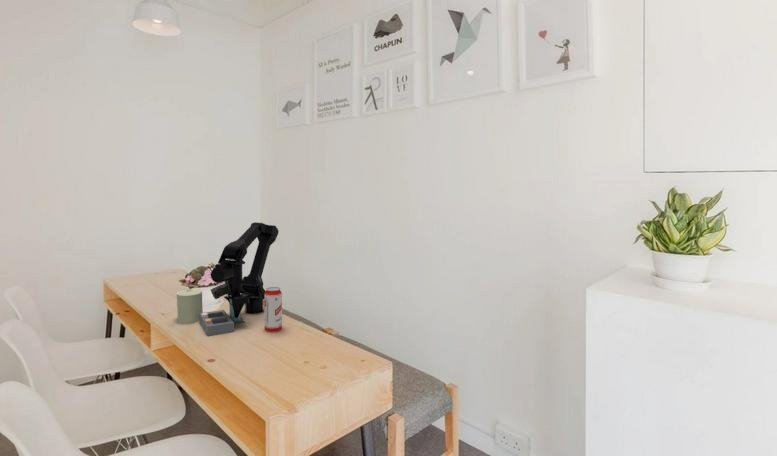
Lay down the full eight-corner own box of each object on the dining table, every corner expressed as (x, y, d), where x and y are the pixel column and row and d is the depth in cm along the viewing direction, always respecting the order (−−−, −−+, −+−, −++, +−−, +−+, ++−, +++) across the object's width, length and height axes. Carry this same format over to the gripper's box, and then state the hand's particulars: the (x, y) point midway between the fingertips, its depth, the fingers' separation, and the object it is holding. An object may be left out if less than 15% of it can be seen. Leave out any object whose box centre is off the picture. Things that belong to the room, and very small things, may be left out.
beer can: (284, 328, 153) (284, 287, 152) (278, 334, 147) (278, 291, 146) (268, 327, 154) (268, 286, 152) (261, 333, 148) (261, 290, 146)
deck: (240, 318, 163) (240, 317, 163) (245, 323, 157) (245, 322, 157) (226, 320, 160) (226, 319, 160) (230, 326, 154) (230, 324, 154)
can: (201, 314, 165) (200, 286, 164) (205, 321, 158) (204, 292, 156) (175, 318, 160) (174, 289, 158) (179, 326, 153) (177, 295, 151)
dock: (223, 319, 161) (223, 307, 161) (234, 333, 147) (234, 319, 147) (199, 323, 156) (199, 310, 156) (207, 337, 142) (207, 323, 142)
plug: (239, 318, 161) (238, 299, 160) (241, 321, 158) (241, 301, 157) (228, 320, 159) (228, 300, 158) (230, 323, 155) (230, 303, 155)
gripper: (207, 274, 160) (208, 312, 161) (217, 284, 144) (218, 327, 146) (236, 271, 166) (237, 308, 167) (249, 281, 150) (249, 321, 152)
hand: (235, 316), depth 158 cm, fingers closed on plug, 4 cm apart
